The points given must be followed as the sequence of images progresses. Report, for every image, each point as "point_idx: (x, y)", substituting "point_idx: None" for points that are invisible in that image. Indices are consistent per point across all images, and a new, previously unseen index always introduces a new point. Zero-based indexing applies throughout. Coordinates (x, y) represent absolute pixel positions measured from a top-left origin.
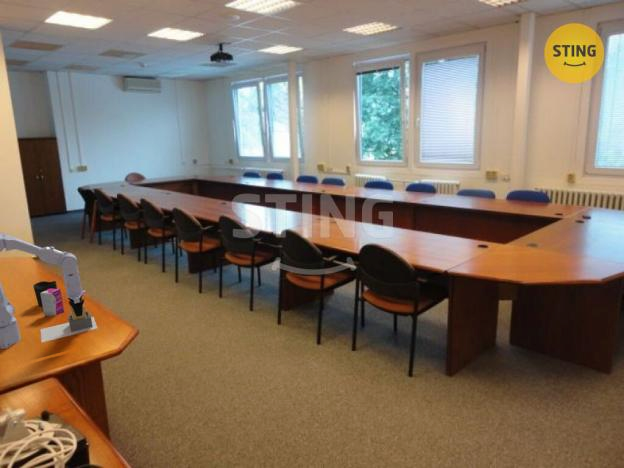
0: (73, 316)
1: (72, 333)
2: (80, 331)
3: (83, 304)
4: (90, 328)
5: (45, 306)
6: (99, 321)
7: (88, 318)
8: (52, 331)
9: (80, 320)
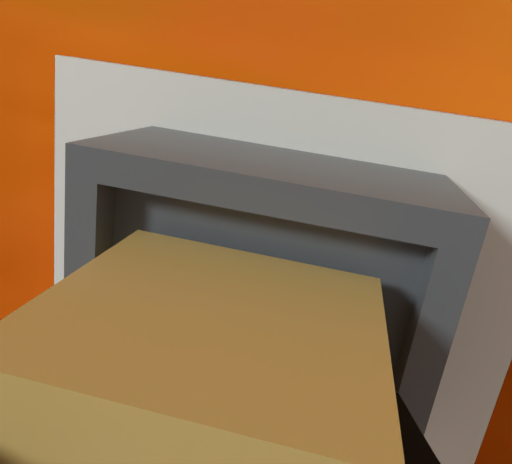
0: None
1: (441, 432)
2: (471, 351)
3: (158, 417)
4: (492, 222)
5: None
6: (234, 14)
7: (470, 263)
8: None
9: (429, 396)
